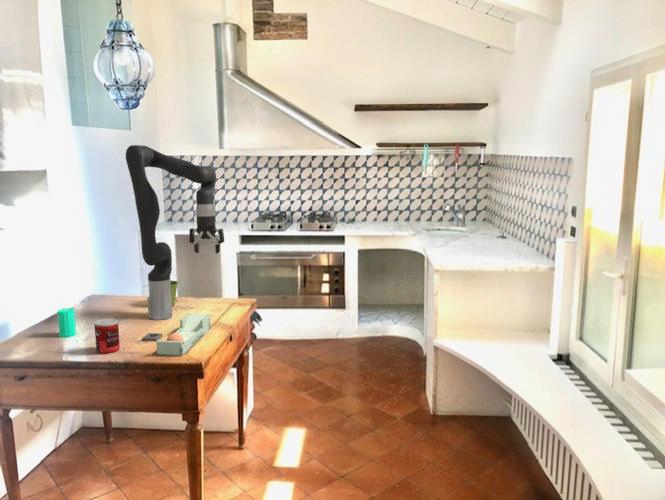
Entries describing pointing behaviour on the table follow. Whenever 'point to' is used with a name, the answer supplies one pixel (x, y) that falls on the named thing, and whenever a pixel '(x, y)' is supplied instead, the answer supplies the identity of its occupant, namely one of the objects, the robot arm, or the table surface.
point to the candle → (66, 322)
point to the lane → (186, 335)
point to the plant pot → (173, 290)
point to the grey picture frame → (152, 337)
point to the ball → (175, 337)
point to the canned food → (107, 336)
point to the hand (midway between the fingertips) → (207, 253)
